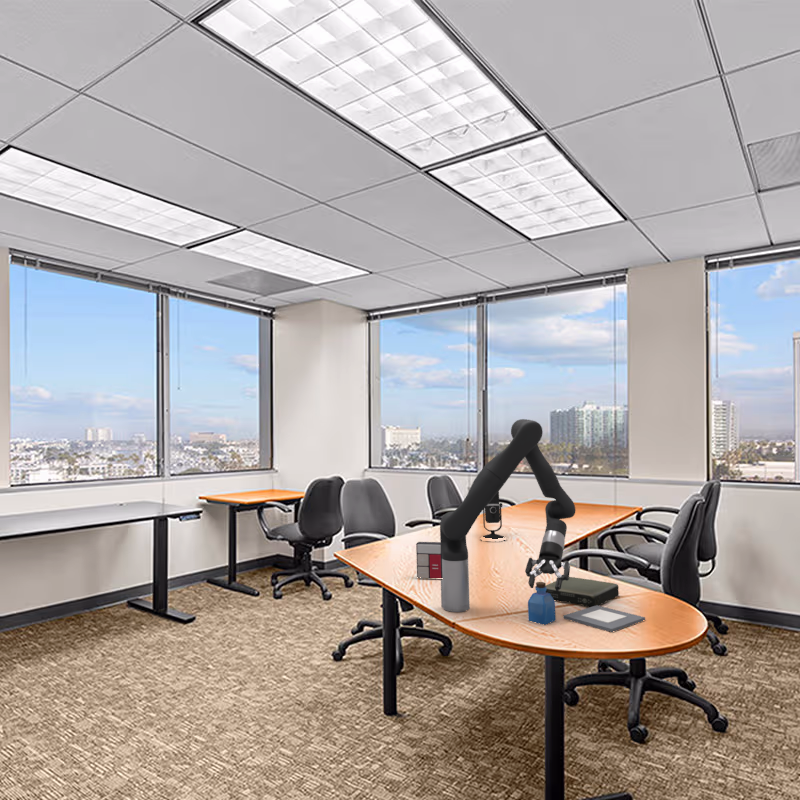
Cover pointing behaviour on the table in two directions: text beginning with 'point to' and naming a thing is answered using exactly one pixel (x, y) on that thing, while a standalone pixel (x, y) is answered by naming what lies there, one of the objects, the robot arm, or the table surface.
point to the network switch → (583, 591)
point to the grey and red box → (429, 560)
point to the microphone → (493, 516)
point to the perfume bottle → (541, 605)
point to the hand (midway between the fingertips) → (543, 588)
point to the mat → (604, 618)
